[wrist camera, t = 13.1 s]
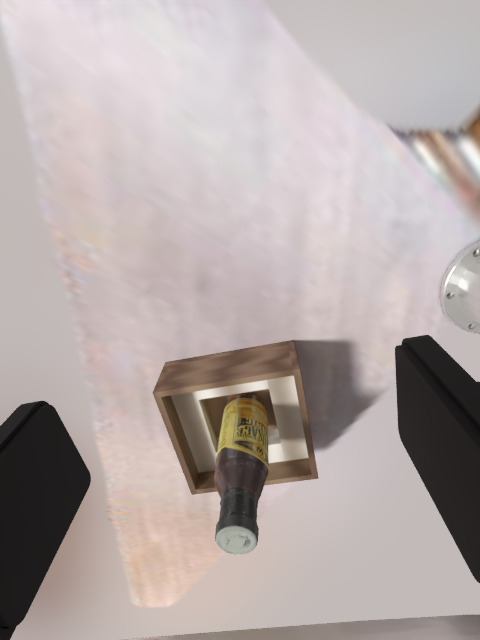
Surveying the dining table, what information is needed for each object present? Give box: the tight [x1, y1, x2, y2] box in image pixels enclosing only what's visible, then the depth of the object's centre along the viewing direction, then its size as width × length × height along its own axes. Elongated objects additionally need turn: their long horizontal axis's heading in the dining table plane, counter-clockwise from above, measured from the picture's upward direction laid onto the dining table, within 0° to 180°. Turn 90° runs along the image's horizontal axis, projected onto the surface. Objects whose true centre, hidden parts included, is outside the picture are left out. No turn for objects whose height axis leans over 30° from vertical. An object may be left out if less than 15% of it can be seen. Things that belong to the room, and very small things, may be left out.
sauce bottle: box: [214, 393, 269, 554], centre depth 42 cm, size 6×6×20 cm
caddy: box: [153, 340, 318, 494], centre depth 49 cm, size 18×18×7 cm
